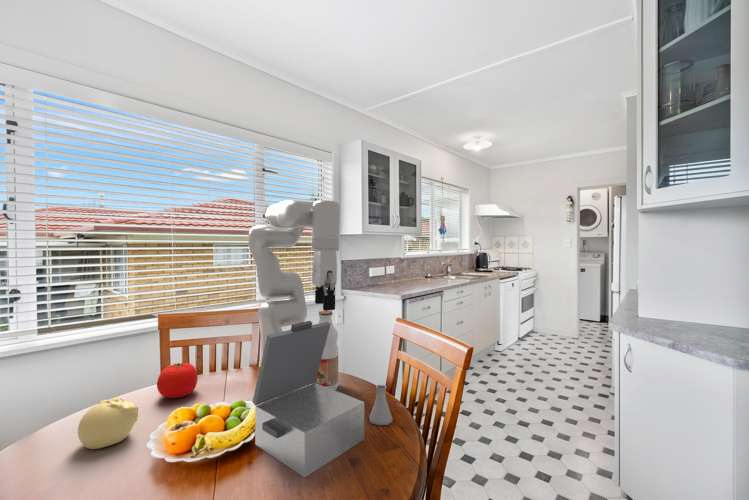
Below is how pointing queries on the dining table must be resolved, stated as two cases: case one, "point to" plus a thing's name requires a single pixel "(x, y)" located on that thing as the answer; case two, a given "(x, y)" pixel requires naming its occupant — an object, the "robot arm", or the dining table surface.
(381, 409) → the flask
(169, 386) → the tomato
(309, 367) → the lid
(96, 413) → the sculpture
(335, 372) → the fruit juice
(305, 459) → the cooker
